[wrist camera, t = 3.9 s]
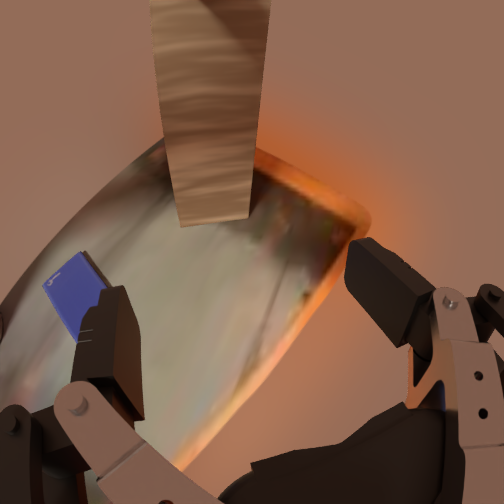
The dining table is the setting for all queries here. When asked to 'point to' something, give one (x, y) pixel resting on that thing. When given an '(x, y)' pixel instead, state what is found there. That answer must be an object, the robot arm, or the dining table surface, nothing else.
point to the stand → (210, 101)
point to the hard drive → (74, 291)
